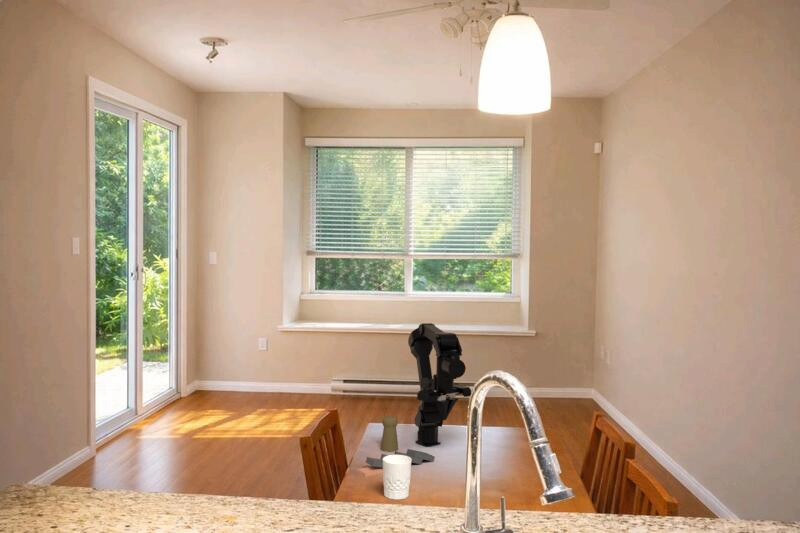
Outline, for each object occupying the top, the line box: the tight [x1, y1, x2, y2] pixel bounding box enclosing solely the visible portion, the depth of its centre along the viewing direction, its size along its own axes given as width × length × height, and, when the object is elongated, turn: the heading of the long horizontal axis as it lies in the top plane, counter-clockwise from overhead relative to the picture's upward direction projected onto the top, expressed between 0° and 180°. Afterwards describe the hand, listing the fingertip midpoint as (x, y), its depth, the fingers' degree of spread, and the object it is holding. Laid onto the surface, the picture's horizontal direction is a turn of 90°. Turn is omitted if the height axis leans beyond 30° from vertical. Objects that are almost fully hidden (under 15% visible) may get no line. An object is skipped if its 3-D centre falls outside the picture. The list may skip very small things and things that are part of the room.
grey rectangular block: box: [379, 453, 389, 460], centre depth 209 cm, size 2×4×8 cm
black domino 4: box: [365, 456, 383, 468], centre depth 206 cm, size 2×4×8 cm
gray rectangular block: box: [405, 448, 436, 462], centre depth 214 cm, size 2×4×8 cm
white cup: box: [382, 454, 412, 500], centre depth 185 cm, size 8×8×10 cm
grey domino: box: [393, 451, 424, 465], centre depth 211 cm, size 2×4×8 cm
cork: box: [380, 415, 399, 453], centre depth 227 cm, size 6×6×11 cm
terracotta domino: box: [356, 465, 383, 477], centre depth 203 cm, size 2×4×8 cm
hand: (444, 419), depth 220 cm, fingers closed
